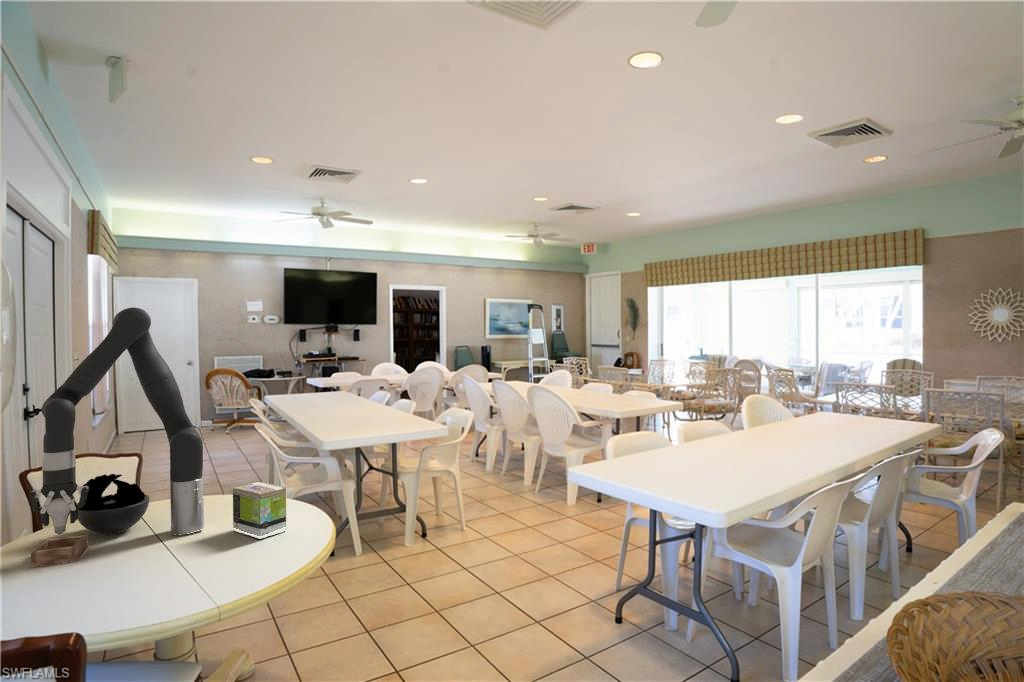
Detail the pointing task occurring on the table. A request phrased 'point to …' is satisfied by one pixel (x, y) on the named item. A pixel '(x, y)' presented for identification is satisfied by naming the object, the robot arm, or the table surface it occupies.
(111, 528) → the coal bowl
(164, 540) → the table surface
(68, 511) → the lightbulb
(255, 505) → the tea box
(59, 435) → the robot arm
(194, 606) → the table surface
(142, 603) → the table surface
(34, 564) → the wooden tray
